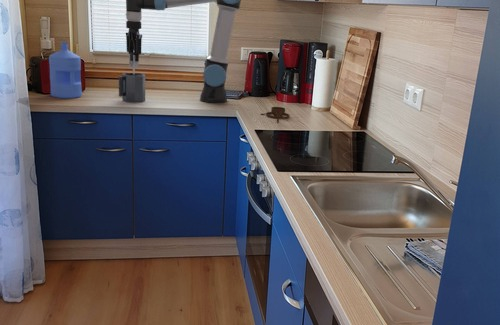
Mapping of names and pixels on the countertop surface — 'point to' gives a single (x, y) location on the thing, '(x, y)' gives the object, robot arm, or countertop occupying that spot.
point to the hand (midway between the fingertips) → (133, 67)
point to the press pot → (132, 87)
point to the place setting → (277, 113)
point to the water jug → (65, 73)
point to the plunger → (132, 60)
